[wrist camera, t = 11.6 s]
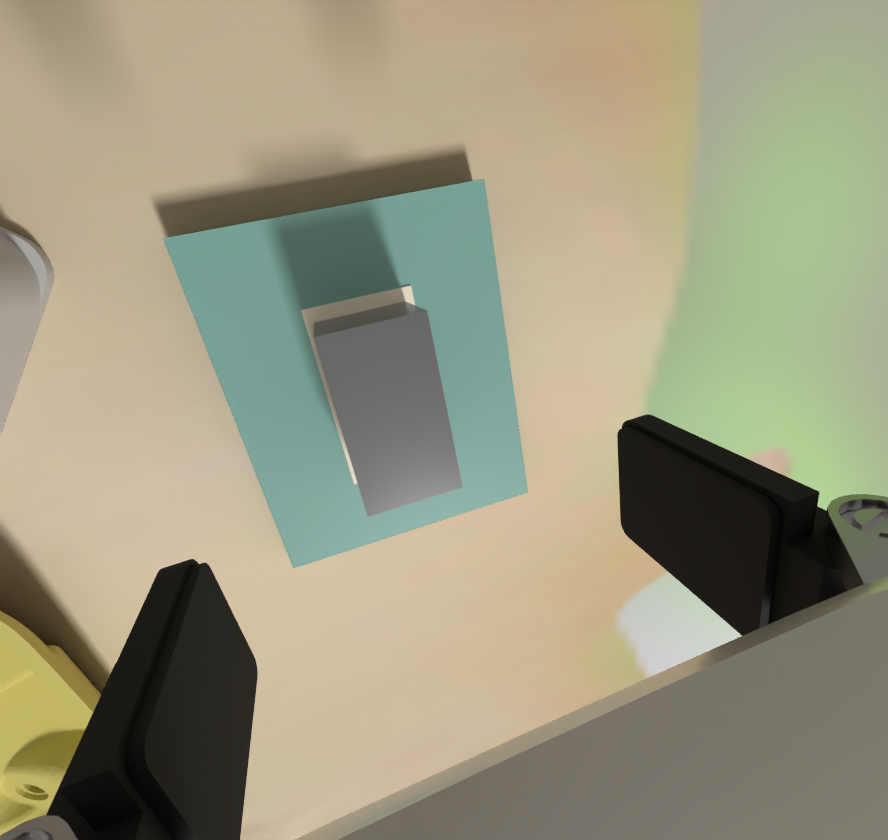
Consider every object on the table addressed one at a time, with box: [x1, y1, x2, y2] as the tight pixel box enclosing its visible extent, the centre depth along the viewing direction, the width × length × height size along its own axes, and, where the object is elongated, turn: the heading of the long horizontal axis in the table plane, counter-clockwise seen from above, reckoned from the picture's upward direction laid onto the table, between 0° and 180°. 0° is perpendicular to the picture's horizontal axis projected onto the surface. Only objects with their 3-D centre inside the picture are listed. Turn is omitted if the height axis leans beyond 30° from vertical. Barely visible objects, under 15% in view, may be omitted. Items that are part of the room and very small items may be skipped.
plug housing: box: [314, 301, 463, 517], centre depth 21 cm, size 4×8×4 cm, turn 11°
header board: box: [163, 179, 528, 568], centre depth 22 cm, size 14×17×4 cm
